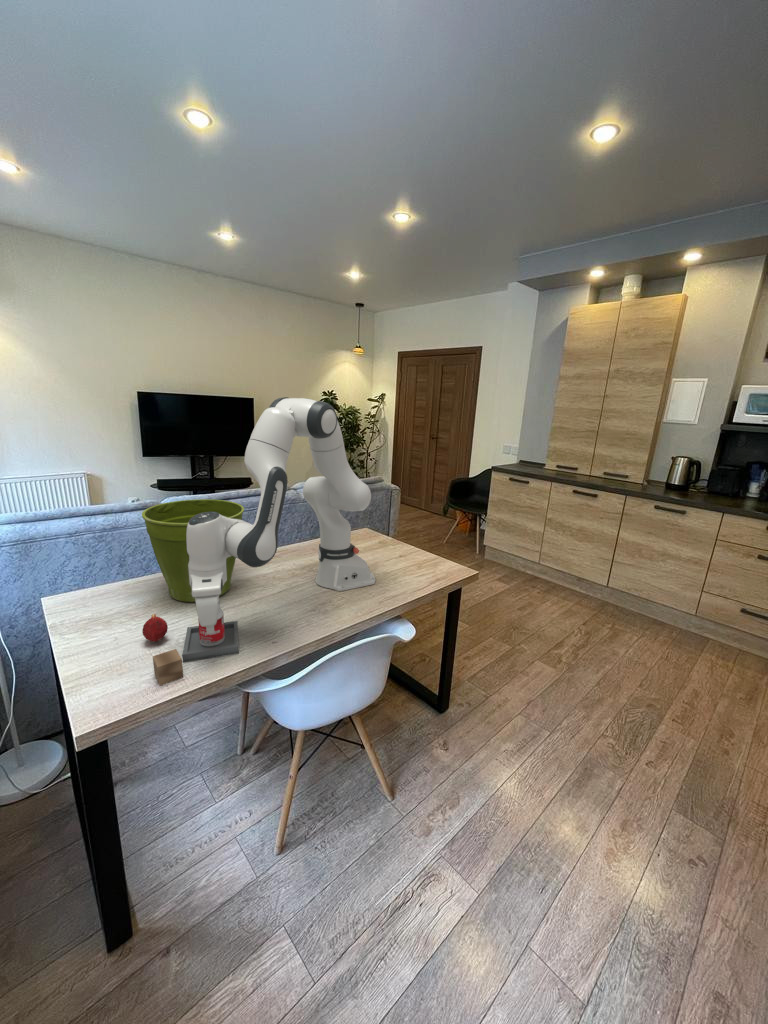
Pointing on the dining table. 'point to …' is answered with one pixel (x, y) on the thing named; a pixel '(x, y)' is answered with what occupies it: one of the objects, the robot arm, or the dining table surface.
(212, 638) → the pill bottle
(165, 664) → the walnut block
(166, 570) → the plant pot
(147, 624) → the red round piece
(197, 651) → the tray
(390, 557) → the dining table surface
